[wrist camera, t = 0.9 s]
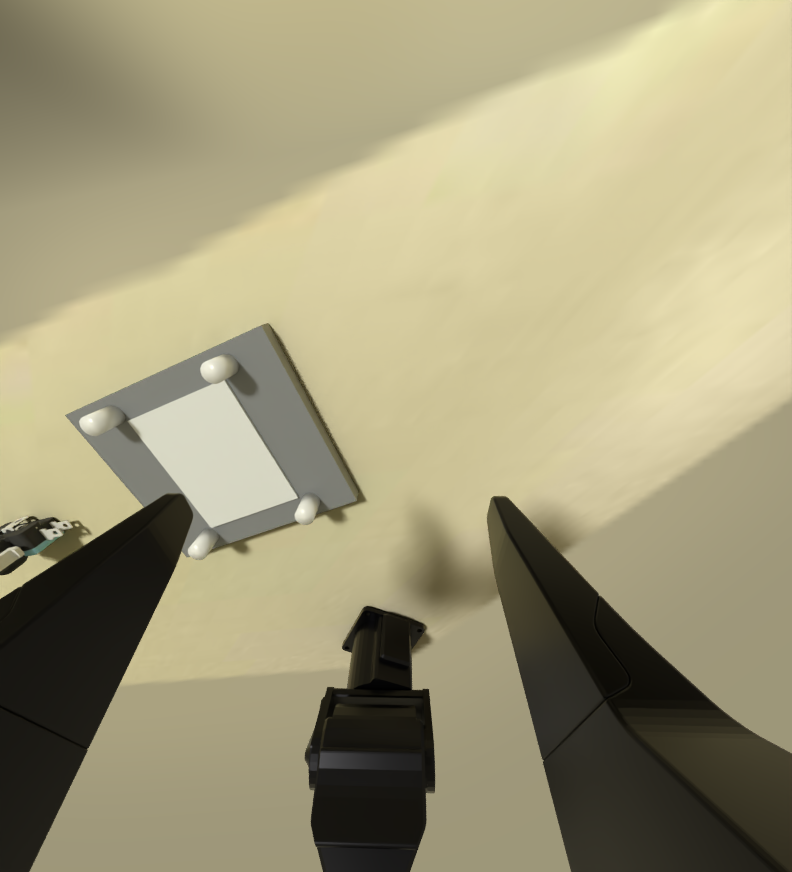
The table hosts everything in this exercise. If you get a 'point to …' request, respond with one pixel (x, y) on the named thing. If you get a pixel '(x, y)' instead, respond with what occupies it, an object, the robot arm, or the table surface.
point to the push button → (26, 540)
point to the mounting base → (222, 442)
